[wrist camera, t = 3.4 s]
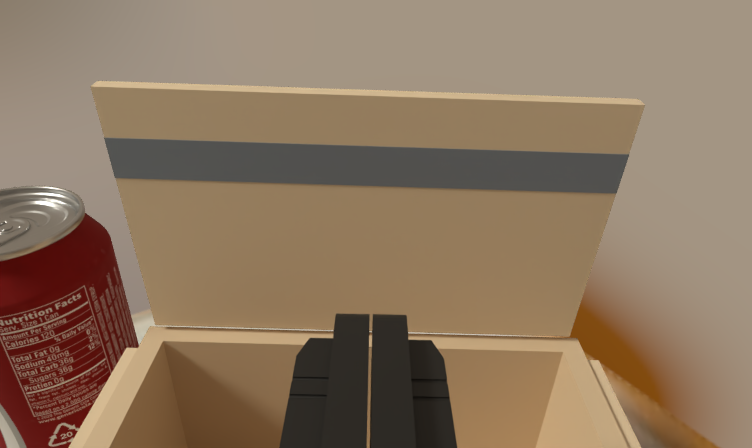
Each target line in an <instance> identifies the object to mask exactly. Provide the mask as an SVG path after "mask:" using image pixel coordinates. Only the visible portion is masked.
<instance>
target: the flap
mask: <svg viewBox="0 0 752 448" xmlns="http://www.w3.org/2000/svg"><path fill="white" fill-rule="evenodd" d="M91 90H92V94H93V98H94V101H95V105H96V108H97V112H98V116H99V120H100V123H101V127H102V131H103V134H104V139H105V143H106V147H107V150H108V154H109V157H110V161H111V165H112V169H113V172H114V176H115V178H116V182H117V186H118V189H119V193H120V197H121V200H122V204H123V208H124V211H125V215H126V219H127V222H128V226H129V230H130V234H131V237H132V241H133V245H134V248H135V252H136V255H137V259H138V263H139V267H140V270H141V274H142V278H143V281H144V285H145V288H146V292H147V296H148V299H149V303H150V307H151V311H152V314H153V318H154V322H155V325H171V326H208V327H244V328H280V329H316V330H334V324H335V316H336V313H339V314H370V321H369V331H372V321H373V314H392V315H406V316H407V325H408V332H425V333H462V334H498V335H534V336H570V333H571V330H572V327H573V324H574V321H575V317H576V314H577V312H578V308H579V306H580V302H581V299H582V296H583V293H584V290H585V287H586V284H587V281H588V278H589V275H590V272H591V269H592V265H593V263H594V259H595V257H596V254H597V250H598V247H599V244H600V241H601V238H602V234H603V232H604V229H605V226H606V223H607V220H608V217H609V214H610V211H611V207H612V205H613V201H614V198H615V195H616V193H617V190H618V187H619V184H620V181H621V178H622V175H623V172H624V169H625V166H626V163H627V160H628V157H629V153H630V149H631V146H632V143H633V140H634V137H635V134H636V131H637V128H638V125H639V122H640V119H641V116H642V113H643V110H644V107H645V105H644V104H643V103H642V102H641V101H640V100H639V99H623V98H621V99H620V98H593V97H592V98H591V97H564V96H534V95H504V94H474V93H473V94H472V93H444V92H441V93H440V92H414V91H384V90H382V91H381V90H354V89H324V88H323V89H322V88H294V87H265V86H234V85H203V84H175V83H144V82H114V81H97V82H96V83H95V84H93V85H92V86H91Z"/></svg>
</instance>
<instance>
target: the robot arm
mask: <svg viewBox="0 0 752 448" xmlns="http://www.w3.org/2000/svg"><path fill="white" fill-rule="evenodd" d="M369 321H370V314H339V313H336V316H335V324H334V333H333V338H309V339H308V341H307V342H306V343H305V345H304V346H303V347H302V349H301V350H300V351H299V353H298V354H297V355H296V360H295V366H294V371H293V376H292V382H291V387H290V392H289V398H288V403H287V408H286V414H285V419H284V424H283V430H282V435H281V440H280V446H279V448H367V410H368V366H369ZM370 448H457V442H456V436H455V429H454V422H453V415H452V409H451V402H450V395H449V388H448V384H447V375H446V368H445V362H444V358H443V356H442V355H441V353H440V352H439V350H438V349H437V348H436V346H435V345H434V343H433V342H432V340H409V339H408V325H407V316H406V315H392V314H373V321H372V357H371V402H370Z"/></svg>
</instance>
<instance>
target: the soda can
mask: <svg viewBox="0 0 752 448" xmlns="http://www.w3.org/2000/svg"><path fill="white" fill-rule="evenodd" d="M138 347H139V344H138V341H137V337H136V333H135V329H134V325H133V322H132V318H131V314H130V310H129V306H128V302H127V299H126V295H125V291H124V288H123V283H122V280H121V276H120V272H119V268H118V264H117V261H116V257H115V253H114V249H113V245H112V241H111V238H110V235H109V234H108V232H107V230H106V229H105V228H104V227H103V226H102V225H101V224H100V223H98V222H97V221H96V220H94V219H93V218H92V217H90V216H89V215H87V214H86V213H85V207H84V203H83V201H82V199H81V198H80V197H79V196H78V195H77V194H75V193H74V192H72V191H69V190H66V189H62V188H58V187H50V186H23V187H14V188H7V189H1V190H0V448H69V446H70V444H71V442H72V441H73V439H74V437H75V435H76V434H77V432H78V430H79V429H80V427H81V425H82V423H83V422H84V420H85V418H86V417H87V415H88V413H89V411H90V410H91V408H92V406H93V404H94V403H95V401H96V399H97V398H98V396H99V394H100V392H101V391H102V389H103V387H104V386H105V384H106V382H107V380H108V379H109V377H110V375H111V374H112V372H113V370H114V368H115V367H116V365H117V363H118V361H119V360H120V358H121V356H122V355H123V353H124V351H125V349H126V348H138Z"/></svg>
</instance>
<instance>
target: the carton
mask: <svg viewBox="0 0 752 448" xmlns="http://www.w3.org/2000/svg"><path fill="white" fill-rule="evenodd" d="M333 333H334V331H299V330H263V329H226V328H190V327H154V326H150V327H149V329H148V331H147V332H146V334H145V336H144V338H143V340H142V341H141V343H140V345H139V347H138V348H126V349H125V351H124V353H123V355H122V356H121V358H120V360H119V361H118V363H117V365H116V367H115V368H114V370H113V372H112V374H111V375H110V377H109V379H108V380H107V382H106V384H105V386H104V387H103V389H102V391H101V392H100V394H99V396H98V398H97V399H96V401H95V403H94V404H93V406H92V408H91V410H90V411H89V413H88V415H87V417H86V418H85V420H84V422H83V423H82V425H81V427H80V429H79V430H78V432H77V434H76V435H75V437H74V439H73V441H72V442H71V444H70V446H69V448H279V446H280V440H281V435H282V430H283V424H284V419H285V414H286V408H287V403H288V398H289V392H290V387H291V382H292V376H293V371H294V366H295V360H296V355H297V354H298V353H299V351H300V350H301V349H302V347H303V346H304V345H305V343H306V342H307V341H308V339H309V338H333ZM408 339H409V340H432V342H433V343H434V345H435V346H436V348H437V349H438V350H439V352H440V353H441V355H442V356H443V358H444V362H445V368H446V375H447V384H448V388H449V395H450V402H451V409H452V415H453V422H454V429H455V436H456V442H457V448H641V446H640V444H639V442H638V440H637V438H636V436H635V434H634V432H633V430H632V427H631V425H630V423H629V421H628V419H627V417H626V415H625V413H624V411H623V409H622V407H621V405H620V403H619V401H618V399H617V397H616V395H615V393H614V391H613V389H612V387H611V385H610V383H609V381H608V379H607V377H606V375H605V373H604V371H603V369H602V367H601V365H600V362H599V361H598V360H587V358H586V356H585V354H584V352H583V350H582V348H581V346H580V344H579V341H578V339H577V338H553V337H517V336H480V335H444V334H408ZM371 357H372V333H371V332H369V366H368V410H367V448H370V402H371Z"/></svg>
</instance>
